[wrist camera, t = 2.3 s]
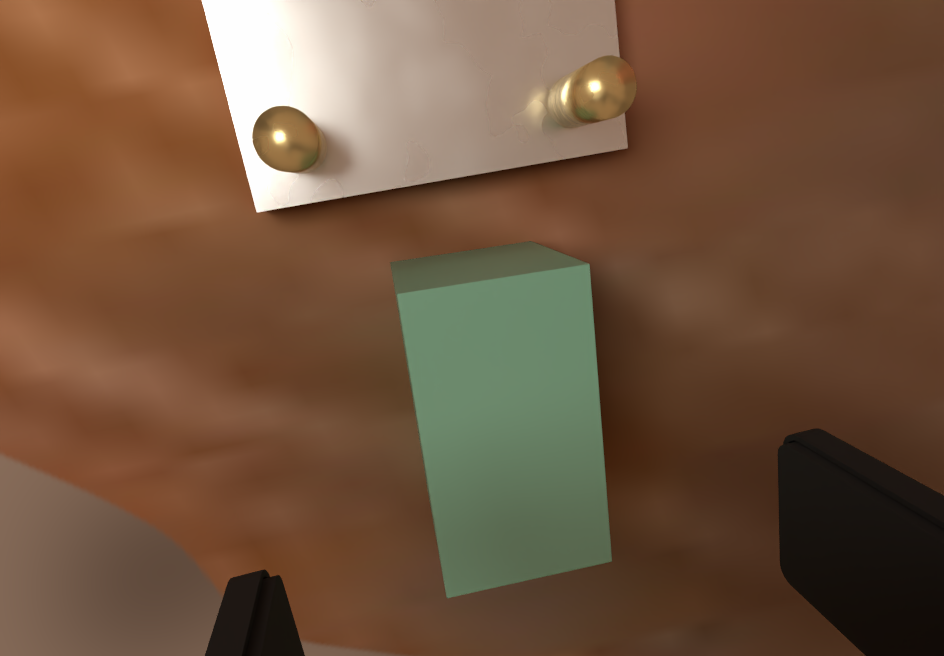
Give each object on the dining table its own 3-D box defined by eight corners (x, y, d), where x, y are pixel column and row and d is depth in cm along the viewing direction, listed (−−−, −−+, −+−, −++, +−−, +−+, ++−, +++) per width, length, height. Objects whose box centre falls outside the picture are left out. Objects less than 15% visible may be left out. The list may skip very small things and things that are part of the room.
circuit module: (553, 467, 23) (611, 561, 18) (428, 492, 23) (446, 598, 17) (530, 240, 21) (589, 263, 15) (390, 261, 20) (396, 294, 15)
